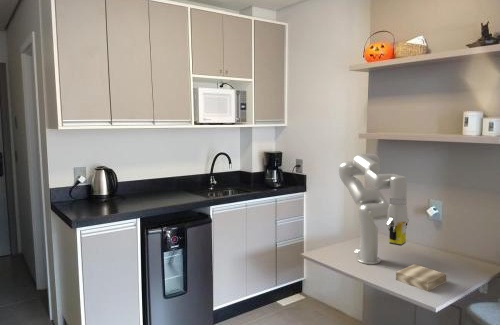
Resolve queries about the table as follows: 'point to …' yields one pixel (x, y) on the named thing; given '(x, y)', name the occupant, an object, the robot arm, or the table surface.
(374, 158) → the robot arm
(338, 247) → the table surface
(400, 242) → the supplement box
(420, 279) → the birch riser
